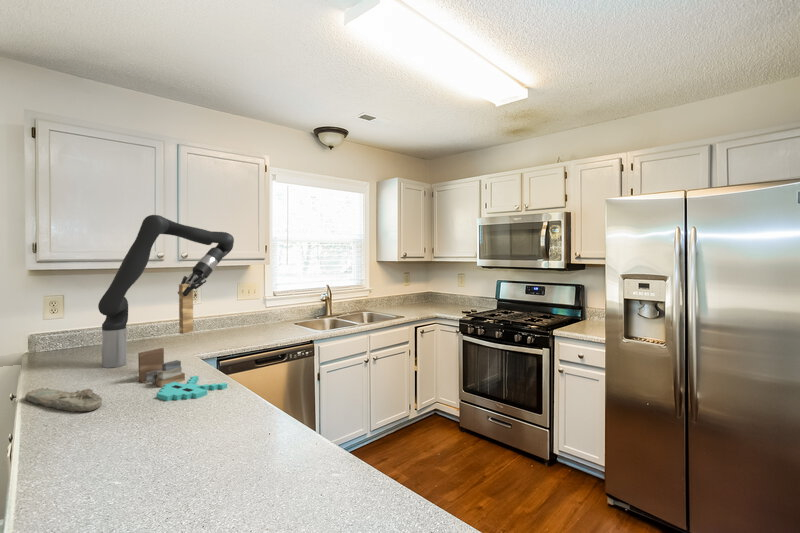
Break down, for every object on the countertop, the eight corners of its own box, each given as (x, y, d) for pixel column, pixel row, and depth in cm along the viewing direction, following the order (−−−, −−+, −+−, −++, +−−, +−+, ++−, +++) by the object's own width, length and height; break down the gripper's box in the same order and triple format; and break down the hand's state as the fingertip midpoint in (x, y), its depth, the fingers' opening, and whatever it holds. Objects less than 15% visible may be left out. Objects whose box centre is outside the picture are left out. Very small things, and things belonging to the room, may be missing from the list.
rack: (138, 381, 164) (138, 353, 163) (162, 374, 173) (161, 347, 172) (153, 385, 160) (152, 355, 159) (176, 378, 169) (176, 350, 168)
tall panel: (179, 333, 177) (178, 284, 176) (189, 331, 181) (189, 283, 181) (183, 333, 176) (182, 284, 175) (193, 331, 180) (192, 283, 180)
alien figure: (195, 380, 167) (146, 395, 149) (195, 375, 167) (146, 390, 149) (227, 389, 158) (179, 406, 140) (227, 383, 158) (179, 399, 140)
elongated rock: (48, 396, 150) (15, 407, 141) (46, 382, 150) (13, 393, 141) (112, 404, 139) (82, 416, 130) (111, 389, 139) (80, 401, 129)
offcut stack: (155, 385, 159) (155, 365, 158) (179, 378, 168) (179, 359, 168) (161, 387, 157) (161, 366, 157) (185, 380, 166) (185, 360, 166)
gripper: (190, 260, 187) (165, 288, 177) (210, 261, 181) (186, 290, 171) (200, 271, 192) (177, 299, 182) (220, 272, 186) (197, 301, 176)
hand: (181, 294), depth 176 cm, fingers closed on tall panel, 2 cm apart
